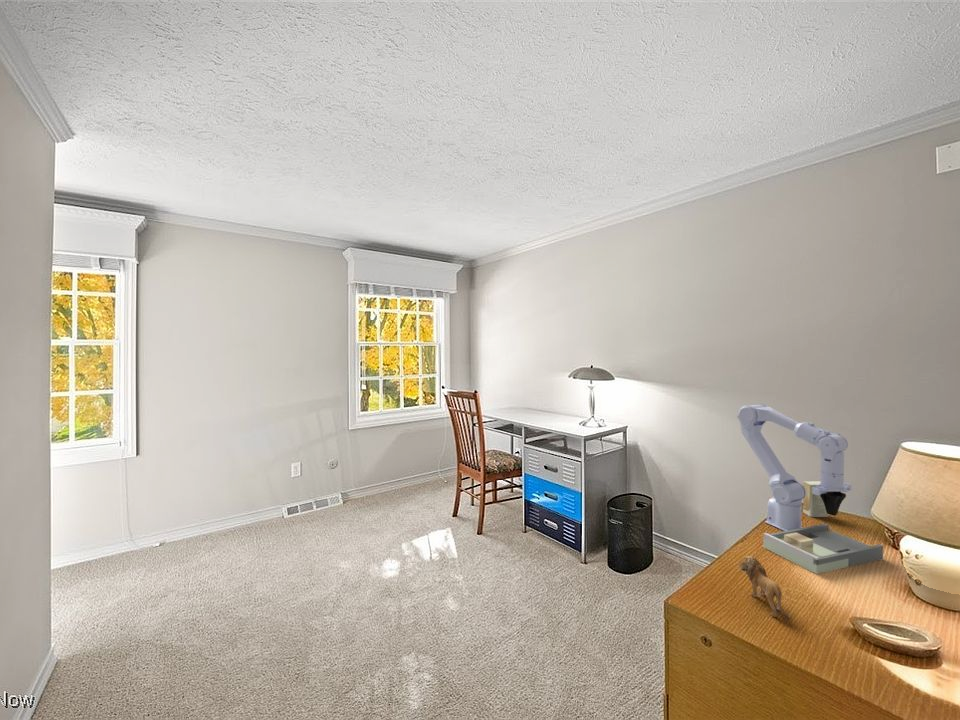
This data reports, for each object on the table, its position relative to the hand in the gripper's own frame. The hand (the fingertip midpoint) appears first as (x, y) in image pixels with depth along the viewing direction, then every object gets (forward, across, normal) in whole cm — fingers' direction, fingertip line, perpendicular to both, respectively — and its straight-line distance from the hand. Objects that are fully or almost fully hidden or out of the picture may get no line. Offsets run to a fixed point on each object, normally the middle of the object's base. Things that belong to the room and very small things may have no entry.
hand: (831, 514), depth 135 cm
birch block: (+7, -20, -4) cm, 21 cm away
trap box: (+9, -10, -4) cm, 14 cm away
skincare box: (+9, +18, +18) cm, 27 cm away
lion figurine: (+10, -49, -16) cm, 52 cm away
